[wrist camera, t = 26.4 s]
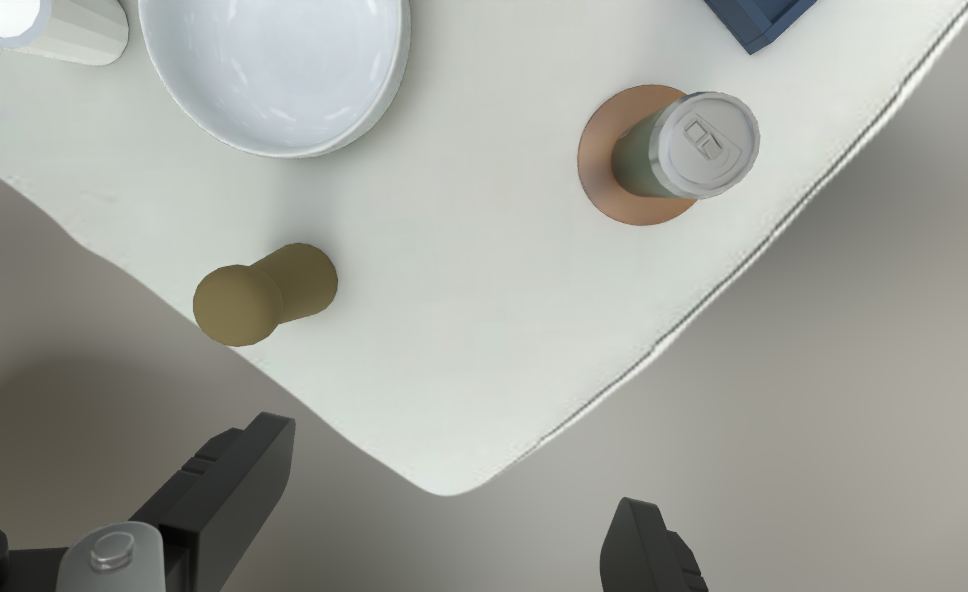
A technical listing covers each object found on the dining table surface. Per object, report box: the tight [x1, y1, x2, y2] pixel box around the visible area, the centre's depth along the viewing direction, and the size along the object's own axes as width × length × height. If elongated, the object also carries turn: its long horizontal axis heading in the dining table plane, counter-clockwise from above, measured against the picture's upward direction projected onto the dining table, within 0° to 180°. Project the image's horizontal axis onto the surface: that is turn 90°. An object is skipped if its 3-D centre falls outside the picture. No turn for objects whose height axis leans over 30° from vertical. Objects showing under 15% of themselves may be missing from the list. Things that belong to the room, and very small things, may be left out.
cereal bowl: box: [138, 0, 411, 159], centre depth 33 cm, size 17×17×7 cm
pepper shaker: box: [193, 243, 338, 347], centre depth 35 cm, size 6×6×11 cm
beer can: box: [611, 92, 760, 199], centre depth 30 cm, size 5×5×12 cm
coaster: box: [578, 85, 698, 226], centre depth 36 cm, size 10×10×1 cm
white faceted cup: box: [0, 0, 129, 66], centre depth 33 cm, size 7×7×7 cm
